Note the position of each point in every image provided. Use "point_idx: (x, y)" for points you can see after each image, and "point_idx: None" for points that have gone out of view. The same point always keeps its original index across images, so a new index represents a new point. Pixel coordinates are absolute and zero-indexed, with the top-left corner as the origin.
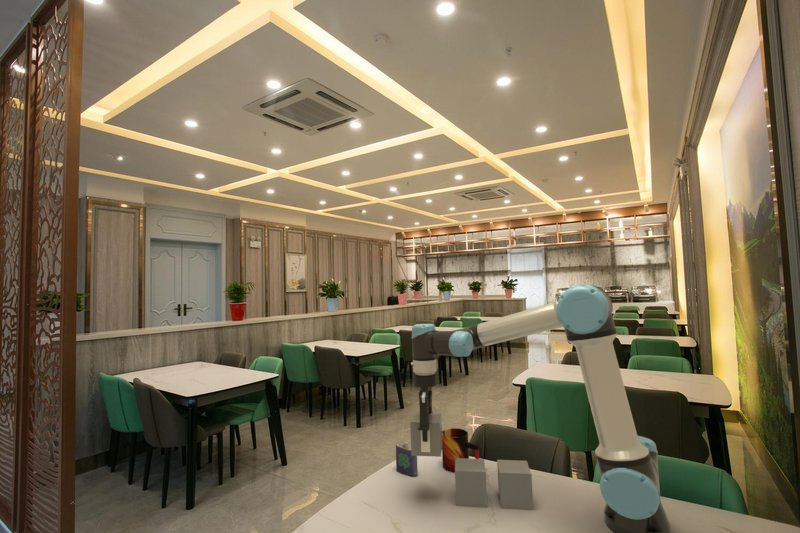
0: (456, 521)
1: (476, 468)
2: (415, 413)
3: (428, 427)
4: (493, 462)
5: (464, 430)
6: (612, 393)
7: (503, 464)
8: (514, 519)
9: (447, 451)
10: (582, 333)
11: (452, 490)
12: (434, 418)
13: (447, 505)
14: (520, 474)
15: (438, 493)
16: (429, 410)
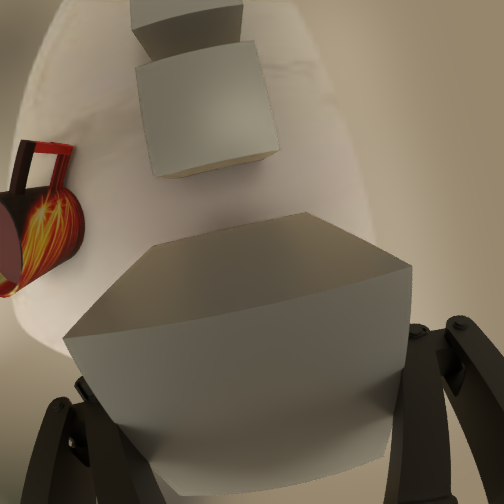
0: (333, 146)
1: (232, 72)
2: (184, 491)
3: (465, 323)
4: (15, 137)
5: None
6: None
7: (169, 4)
8: (279, 27)
9: (53, 251)
10: None
11: (183, 190)
12: (269, 372)
13: (269, 182)
14: None
15: (213, 224)
16: (131, 459)
